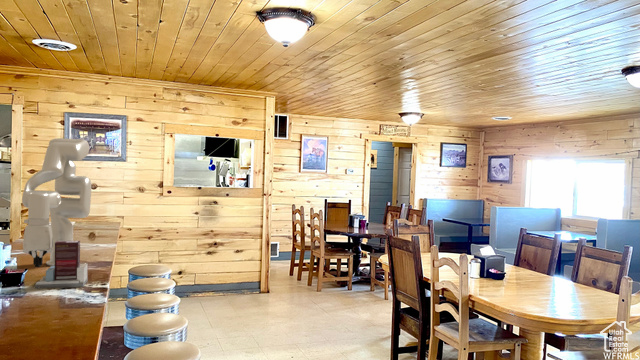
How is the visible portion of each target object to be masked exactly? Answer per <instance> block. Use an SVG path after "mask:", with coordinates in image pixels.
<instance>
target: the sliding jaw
mask: <svg viewBox="0 0 640 360" xmlns="http://www.w3.org/2000/svg"><path fill="white" fill-rule="evenodd" d="M45 276H46V281H55V264H54V265H53V266H50V267H48V268H47V269H46V270H45Z"/></svg>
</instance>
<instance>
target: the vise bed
mask: <svg viewBox="0 0 640 360" xmlns="http://www.w3.org/2000/svg"><path fill="white" fill-rule="evenodd" d="M88 266H89V263H80V265H79V266H78V267H77V280H74V281H46V275H44V276H42V278H41V279H40V280H38V281H36V283H35V284H34V289H56V288H57V289H59V288H84V287H85V285H86V284H87V282H88V280H89V279H88V278H89V277H88Z"/></svg>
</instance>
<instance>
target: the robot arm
mask: <svg viewBox="0 0 640 360" xmlns="http://www.w3.org/2000/svg"><path fill="white" fill-rule="evenodd" d="M89 152H90V144H89V142H88V141H87V140H86V139H84V138H81V139H80V138H79V139H78V138H63V137H61V138H53V139H50V140H49V142H48V146H47V148H46V151H45V155H44V159H43V162H42V163H43V164H42V167H41V169H40V170H39V171H37V172H35V173H34V174H33V175H32V176H31V177H30V178H29V179H28V180H27V181H26V183H25V185H24V187H23V192H22V195H21V203H22V205H23V206H24V207H25V208H27V209H28V210H27V211H28V213H27V215H28V216H27V218H26V219H24V220H23V223H24V224H27V225H26V226H25V227H24V231H23V241H22V249H23V251H22V252H23V253H24V254H29V255H30V256H31V257H32V258H33V259H32V261H33V266H34V268H40V267H42V265H43V259H44V258H43V257H44V256H45V255H47V254H50V255H49V256H50V257H49V260H47V261H46V263H45V264H46V265H47V266H50V267H51V266H53V265H54V264H55V242H57V241H74V225H73V223H72V222H71V220H70V219H82V218H84V219H85V218H87V217H89V216H90V215H89V214H90V211H91V201H92V199H91V198H92V182H91V179H90V178H89V177H88V176H84V175H76V171H77V166H76V164H75V162H80V161H82V160H83V159H85V158H86V157H87V156H88V155H89ZM51 181H54V190H36V189H37V188H38V187H39V186H41V185H43V184H45V183H48V182H51ZM62 196H79V197H62ZM38 251H39V254H38Z"/></svg>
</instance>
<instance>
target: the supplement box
mask: <svg viewBox="0 0 640 360" xmlns="http://www.w3.org/2000/svg"><path fill="white" fill-rule="evenodd" d="M80 264H81V240H73V241H57V242H55V281H74V280H77V267H78V266H79V265H80Z"/></svg>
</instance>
